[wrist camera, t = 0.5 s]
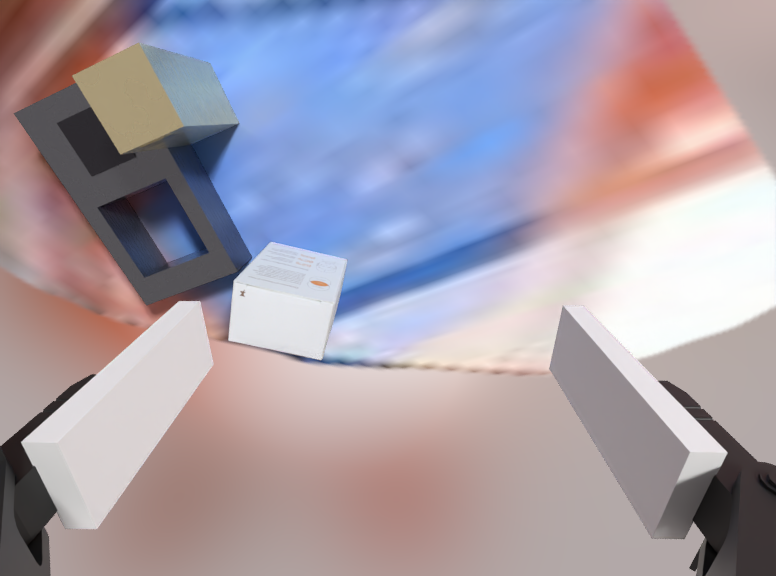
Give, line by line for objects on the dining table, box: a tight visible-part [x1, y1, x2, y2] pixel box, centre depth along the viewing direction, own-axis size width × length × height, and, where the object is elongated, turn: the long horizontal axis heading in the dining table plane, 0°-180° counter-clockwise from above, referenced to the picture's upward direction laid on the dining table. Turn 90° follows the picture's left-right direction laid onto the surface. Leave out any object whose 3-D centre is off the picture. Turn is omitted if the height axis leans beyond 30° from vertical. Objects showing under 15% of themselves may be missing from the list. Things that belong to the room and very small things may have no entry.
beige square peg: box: [72, 43, 239, 155], centre depth 30 cm, size 5×5×10 cm
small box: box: [228, 242, 347, 360], centre depth 36 cm, size 8×6×10 cm
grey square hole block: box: [14, 83, 252, 305], centre depth 35 cm, size 18×10×4 cm, turn 21°
